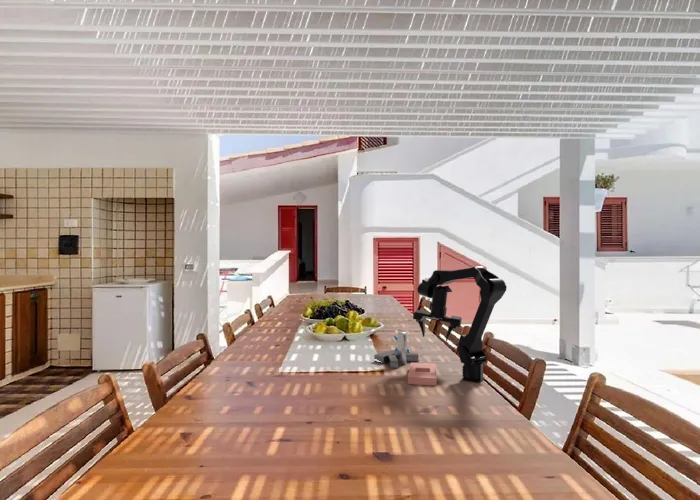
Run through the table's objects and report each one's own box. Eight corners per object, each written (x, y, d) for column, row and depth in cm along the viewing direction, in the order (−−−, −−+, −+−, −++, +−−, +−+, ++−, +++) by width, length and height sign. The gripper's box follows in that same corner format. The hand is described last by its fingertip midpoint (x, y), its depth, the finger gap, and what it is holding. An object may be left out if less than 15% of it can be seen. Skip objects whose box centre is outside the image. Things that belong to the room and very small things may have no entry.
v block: (421, 360, 191) (421, 353, 191) (394, 369, 177) (394, 361, 177) (396, 355, 200) (396, 348, 200) (369, 363, 187) (369, 356, 187)
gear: (411, 351, 201) (395, 335, 202) (401, 360, 201) (386, 344, 202) (411, 349, 211) (396, 334, 213) (402, 358, 211) (387, 342, 213)
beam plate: (410, 368, 178) (410, 362, 178) (436, 370, 176) (436, 363, 176) (407, 383, 158) (407, 376, 158) (436, 385, 157) (436, 378, 157)
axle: (408, 364, 185) (408, 332, 185) (400, 365, 184) (400, 333, 184) (403, 361, 189) (403, 331, 189) (395, 362, 187) (395, 331, 187)
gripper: (465, 300, 183) (460, 337, 185) (420, 293, 189) (416, 329, 191) (462, 306, 173) (457, 345, 174) (414, 298, 179) (410, 336, 181)
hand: (435, 338), depth 180 cm, fingers open, 9 cm apart
